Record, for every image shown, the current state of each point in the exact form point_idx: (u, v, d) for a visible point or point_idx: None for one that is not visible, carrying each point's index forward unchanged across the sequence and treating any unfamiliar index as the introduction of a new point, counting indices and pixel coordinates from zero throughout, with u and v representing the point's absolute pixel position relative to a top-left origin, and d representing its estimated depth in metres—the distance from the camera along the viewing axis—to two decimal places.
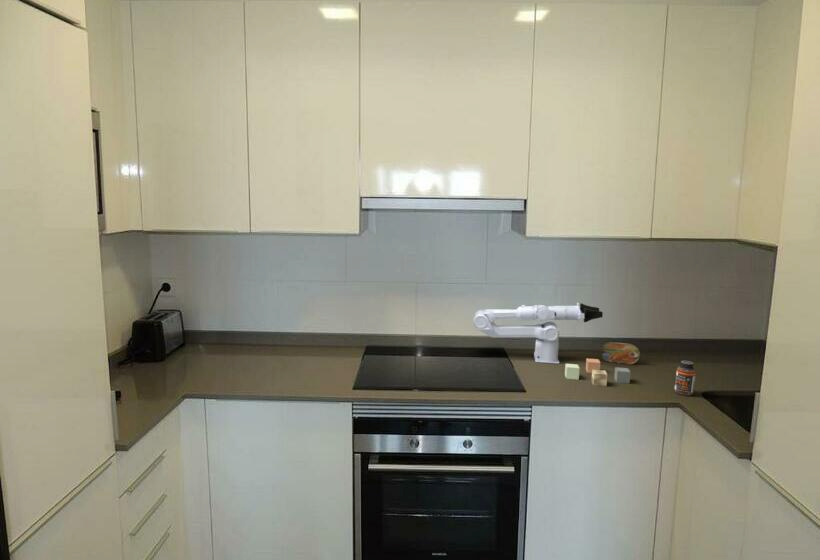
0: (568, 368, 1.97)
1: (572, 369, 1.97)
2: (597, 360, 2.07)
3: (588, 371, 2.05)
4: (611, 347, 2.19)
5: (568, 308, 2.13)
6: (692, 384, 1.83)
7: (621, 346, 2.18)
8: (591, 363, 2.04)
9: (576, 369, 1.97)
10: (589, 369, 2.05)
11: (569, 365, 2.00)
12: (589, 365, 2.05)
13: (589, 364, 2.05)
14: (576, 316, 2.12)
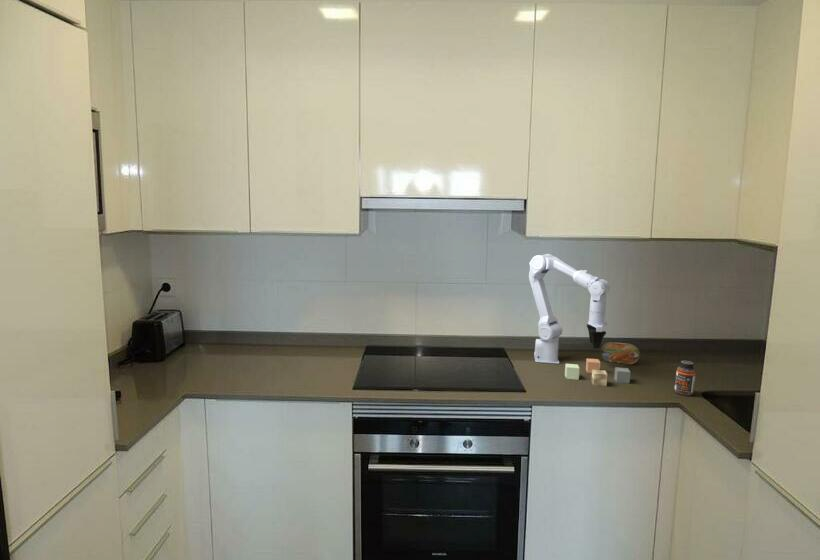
0: (568, 368, 1.97)
1: (572, 369, 1.97)
2: (597, 360, 2.07)
3: (588, 371, 2.05)
4: (611, 347, 2.19)
5: (603, 314, 2.01)
6: (692, 384, 1.83)
7: (621, 346, 2.18)
8: (591, 363, 2.04)
9: (576, 369, 1.97)
10: (589, 369, 2.05)
11: (569, 365, 2.00)
12: (589, 365, 2.05)
13: (589, 364, 2.05)
14: (595, 322, 2.02)
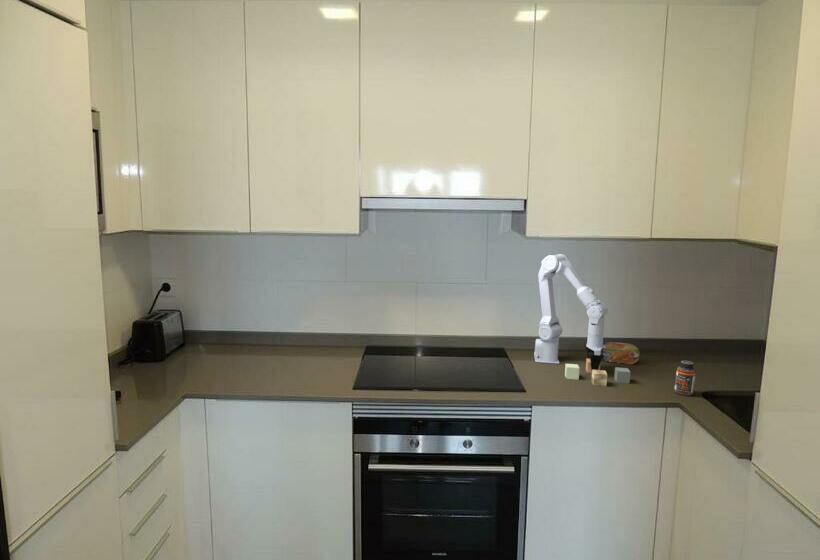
0: (568, 368, 1.97)
1: (572, 369, 1.97)
2: None
3: (588, 371, 2.05)
4: (611, 347, 2.19)
5: (601, 337, 2.03)
6: (692, 384, 1.83)
7: (621, 346, 2.18)
8: None
9: (575, 369, 1.97)
10: (589, 369, 2.05)
11: (569, 365, 2.00)
12: (589, 365, 2.05)
13: (589, 364, 2.05)
14: (593, 345, 2.03)
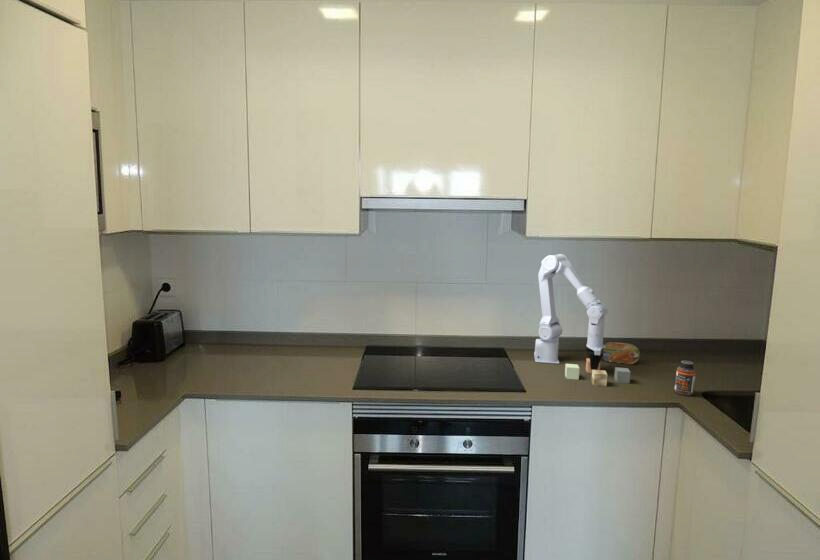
0: (568, 368, 1.97)
1: (572, 369, 1.97)
2: None
3: (588, 371, 2.05)
4: (611, 347, 2.19)
5: (602, 337, 2.03)
6: (692, 384, 1.83)
7: (621, 346, 2.18)
8: None
9: (576, 369, 1.97)
10: (589, 369, 2.05)
11: (569, 365, 2.00)
12: (589, 365, 2.05)
13: (589, 364, 2.05)
14: (593, 345, 2.03)
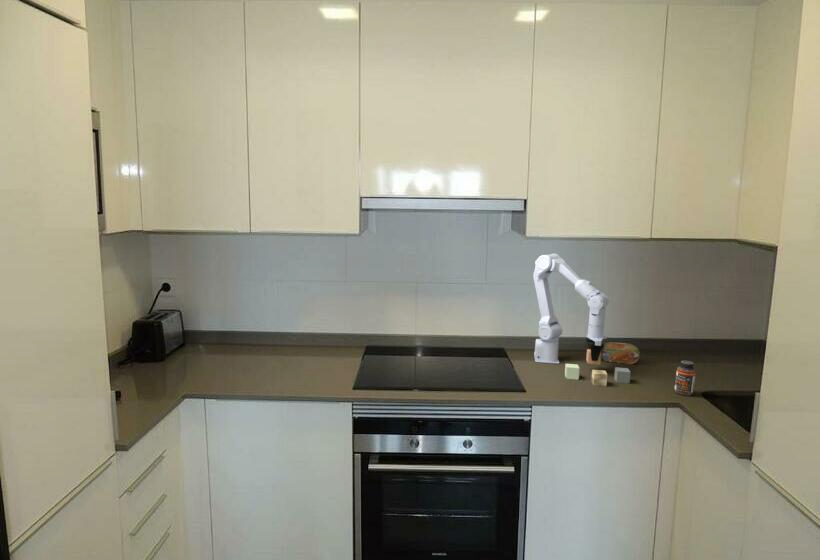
0: (568, 368, 1.97)
1: (572, 369, 1.97)
2: None
3: (589, 362, 2.05)
4: (611, 347, 2.19)
5: (602, 328, 2.02)
6: (692, 384, 1.83)
7: (621, 346, 2.18)
8: None
9: (575, 369, 1.97)
10: (590, 359, 2.04)
11: (569, 365, 2.00)
12: (590, 355, 2.04)
13: (589, 355, 2.04)
14: (593, 336, 2.02)
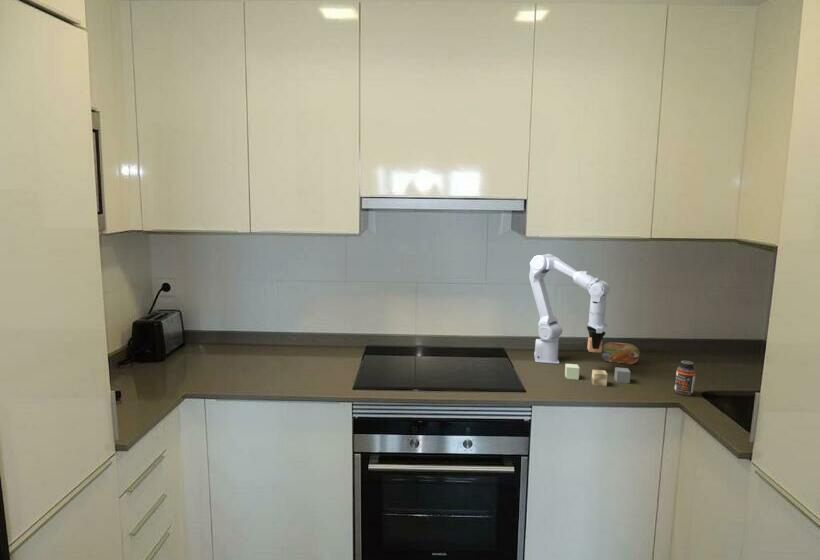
0: (568, 368, 1.97)
1: (572, 369, 1.97)
2: None
3: (590, 350, 2.04)
4: (611, 347, 2.19)
5: (603, 316, 2.01)
6: (692, 384, 1.83)
7: (621, 346, 2.18)
8: None
9: (575, 369, 1.97)
10: (591, 348, 2.04)
11: (569, 365, 2.00)
12: (591, 343, 2.03)
13: (590, 343, 2.03)
14: (594, 323, 2.02)
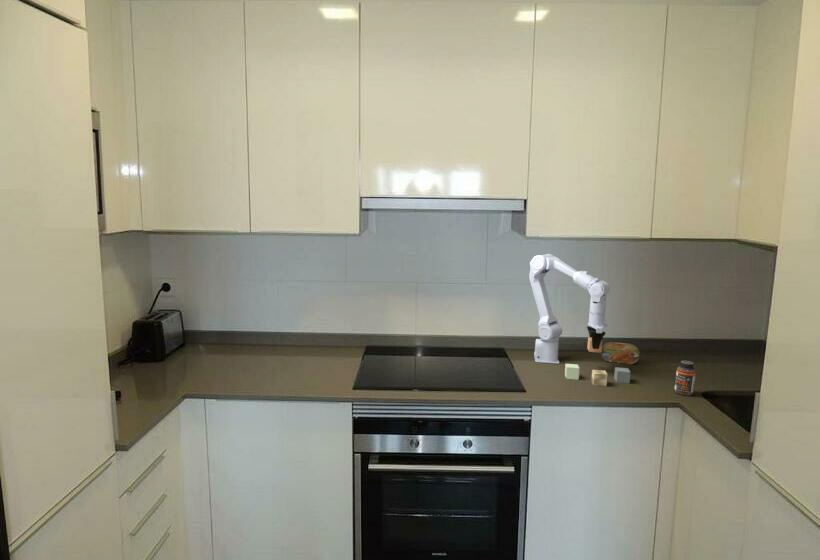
0: (568, 368, 1.97)
1: (572, 369, 1.97)
2: None
3: (590, 350, 2.04)
4: (611, 347, 2.19)
5: (603, 316, 2.01)
6: (692, 384, 1.83)
7: (621, 346, 2.18)
8: None
9: (575, 369, 1.97)
10: (591, 348, 2.04)
11: (569, 365, 2.00)
12: (591, 343, 2.03)
13: (590, 343, 2.03)
14: (594, 323, 2.02)
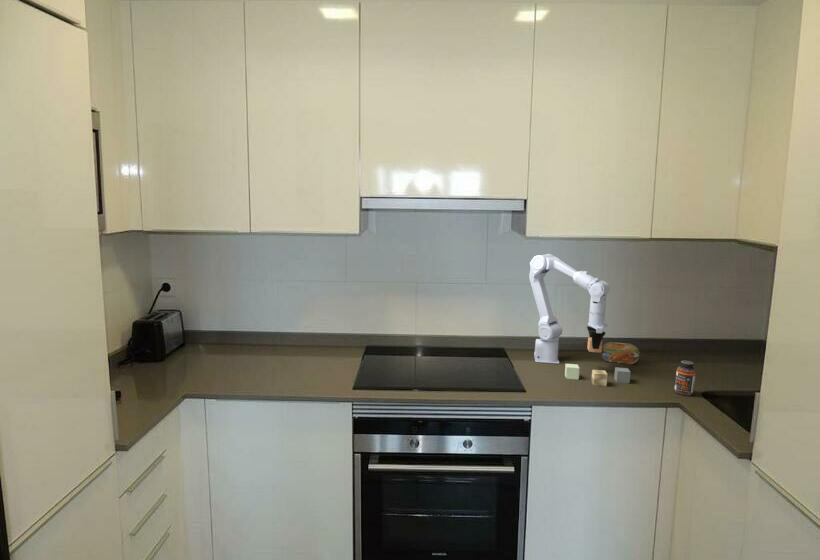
0: (568, 368, 1.97)
1: (572, 369, 1.97)
2: None
3: (590, 350, 2.04)
4: (611, 347, 2.19)
5: (603, 316, 2.01)
6: (692, 384, 1.83)
7: (621, 346, 2.18)
8: None
9: (575, 369, 1.97)
10: (591, 348, 2.04)
11: (569, 365, 2.00)
12: (591, 343, 2.03)
13: (590, 343, 2.03)
14: (594, 323, 2.02)
